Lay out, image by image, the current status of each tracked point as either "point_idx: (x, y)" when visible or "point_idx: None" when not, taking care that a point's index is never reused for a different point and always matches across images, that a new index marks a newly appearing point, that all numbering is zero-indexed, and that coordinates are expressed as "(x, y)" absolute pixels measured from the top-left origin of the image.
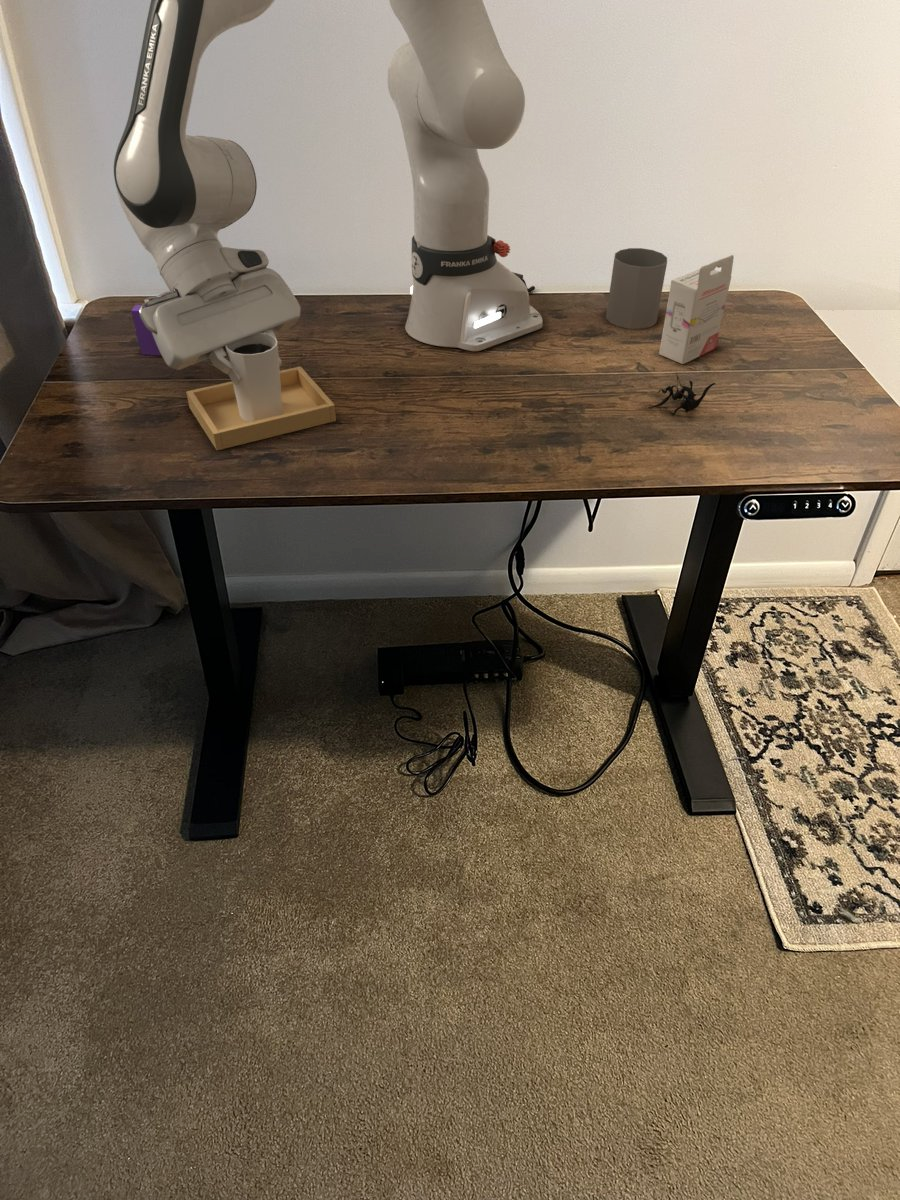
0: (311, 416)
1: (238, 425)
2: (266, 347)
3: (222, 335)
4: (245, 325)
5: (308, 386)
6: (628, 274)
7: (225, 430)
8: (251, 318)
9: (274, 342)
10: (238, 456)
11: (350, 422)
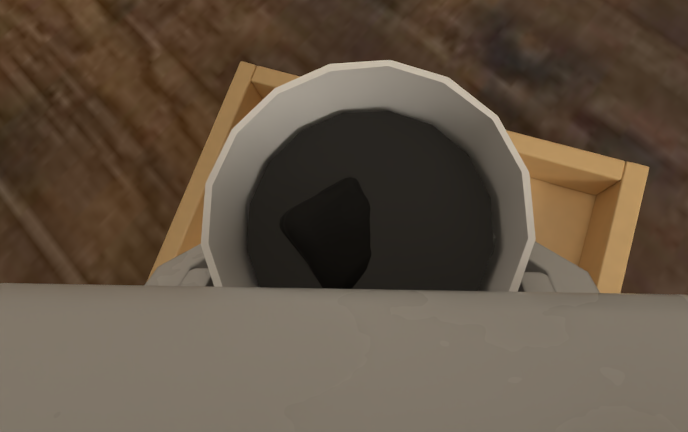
0: None
1: (547, 155)
2: (265, 232)
3: (526, 330)
4: (287, 331)
5: (194, 237)
6: None
7: (603, 157)
8: (192, 359)
9: (231, 177)
10: (580, 119)
11: (238, 60)
